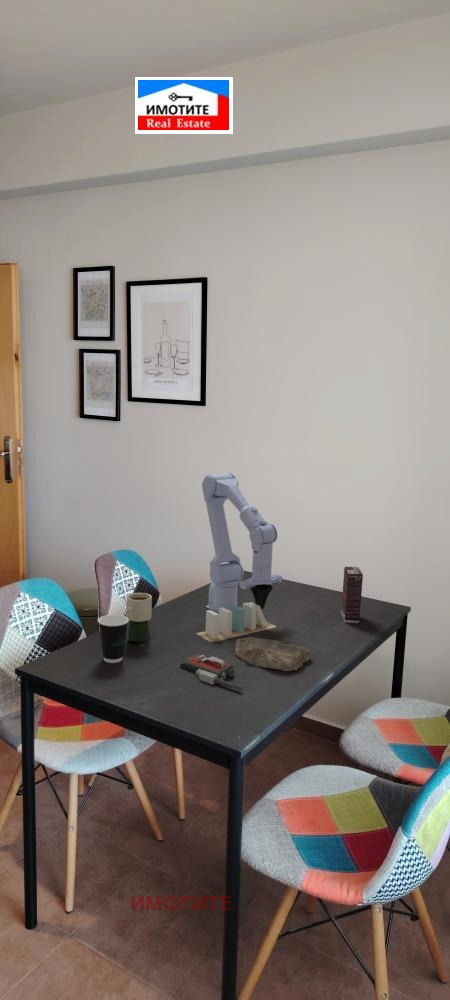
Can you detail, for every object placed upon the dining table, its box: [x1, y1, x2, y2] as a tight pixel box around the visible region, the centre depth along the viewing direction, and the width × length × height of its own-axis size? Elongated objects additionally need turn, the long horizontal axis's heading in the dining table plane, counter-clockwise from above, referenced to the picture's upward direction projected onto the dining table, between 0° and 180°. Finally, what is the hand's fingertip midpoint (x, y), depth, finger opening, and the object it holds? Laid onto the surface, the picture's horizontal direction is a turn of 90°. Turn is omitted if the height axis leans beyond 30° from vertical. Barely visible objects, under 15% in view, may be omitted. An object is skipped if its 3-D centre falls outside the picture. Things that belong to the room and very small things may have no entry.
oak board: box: [195, 621, 277, 643], centre depth 207 cm, size 8×24×1 cm, turn 126°
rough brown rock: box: [234, 636, 312, 672], centre depth 189 cm, size 14×5×20 cm
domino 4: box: [248, 601, 267, 627], centre depth 211 cm, size 2×4×7 cm, turn 35°
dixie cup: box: [97, 614, 130, 664], centre depth 184 cm, size 8×8×11 cm
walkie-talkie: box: [179, 653, 243, 691], centre depth 176 cm, size 9×4×20 cm
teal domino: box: [231, 604, 245, 633], centre depth 207 cm, size 2×4×7 cm, turn 36°
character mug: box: [125, 592, 153, 643], centre depth 197 cm, size 11×7×13 cm, turn 154°
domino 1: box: [205, 609, 220, 639], centre depth 202 cm, size 2×4×7 cm, turn 36°
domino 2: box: [218, 607, 232, 636], centre depth 204 cm, size 2×4×7 cm, turn 36°
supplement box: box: [340, 566, 364, 624], centre depth 221 cm, size 9×5×16 cm, turn 179°
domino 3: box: [242, 602, 256, 630], centre depth 209 cm, size 2×4×7 cm, turn 36°
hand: (260, 608), depth 211 cm, fingers closed
